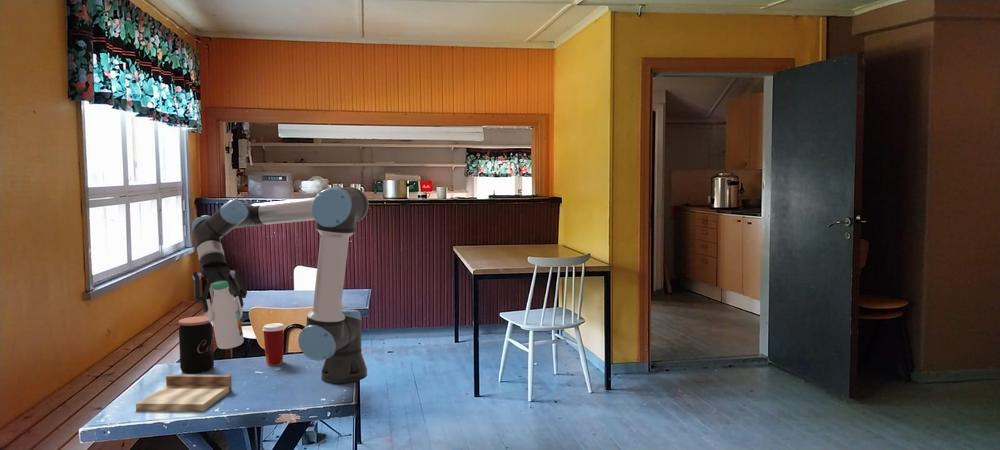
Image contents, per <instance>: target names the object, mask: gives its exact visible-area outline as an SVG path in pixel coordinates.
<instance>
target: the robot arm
mask: <svg viewBox="0 0 1000 450" xmlns="http://www.w3.org/2000/svg"><path fill="white" fill-rule="evenodd" d="M369 207H370V205H369V200H368V197H367V195H366V194H365V193H364V191H362V190H361V189H359V188H358V187H353V186H347V187H341V186H338V187H335V186H333V187H330V188H326V189H323V190H322V191H320V192H318V193H317V194H316V196H314V197H305V198H295V199H289V200H288V199H287V200H278V201H267V202H261V203H251V204H250V203H249V204H248V203H247V204H244V203H243V202H241V201H240V200H239V201H238V200H237V199H230V200H229V201H228V202H226V203H223V205H221V206H220V208H219V209H218V210H216V211H215V212H214V213H212V215H211V216H210V215H201V216H200V217H196V218H195V219H194V220H193V221H192V225H191V226H192V227H191V228H192V236H193V239H194V242H195V246H196V251H197V254H198V260H199V264H200V269H201V272H196V271H194V272H193V273H192V277H191V279H192V281H193V290H194V291H193V292H194V293H193V301H194V303H200V305H201V308H202V311H203V312H204V313H205V312H206V314H207V317H208V319H209V322H211V323H213V321H212V320H213V313H212V308H211V306H212V303H211V299H210V298H208V295H209V293H210V289H211V287H212V284H213V283H214V282H217V281H228V284H229V292H230V294H231V296H232V297H233V298H234V300H235V301H236V303H237V306H238V310H239V316H240V320H242V318H243V314H244V311H243V307H244V304H245V303H244V300H243V299H246V298H247V294H248V291H247V288H246V285H245V284H244V281H243V280H242V278H241V275H240V269H238V268H236V269H234V270H232V269H230V268H229V267H228V265H227V260H226V256H225V251H224V248H223V244H222V241H221V240H222V239H223V238H224V236H226V235H228V234H229V233H230V232H231V231H232V230H235V229H240V228H245V227H248V228H249V227H256V226H257V227H259V226H266V225H276V224H285V223H286V224H287V223H297V222H298V223H299V222H308V221H309V222H310V221H315V222H316V226H315V227H316V228H315V230H316V231H317V232H318V233H319V235H320V239H319V248H318V258H317V267H316V275H315V277H316V278H315V287H314V295H313V304H312V305H313V306H312V310H310V311H309V312H308V313H307V315H306V322H305V325H306V326H305V327H303V328H302V329H301V331H300V332H299V335H298V338H297V340H298V343H297V344H298V347H299V349H300V351H301V352H302V353H303V354H304V356H305V357H307V358H308V359H310V360H313V361H318V362H320V361H324V362H323V365H322V369H321V373H320V375H321V376H320V377H321V380H322V381H323V382H326V383H329V384H330V383H331V384H349V383H354V382H358V381H361V380H363V379H365V378H366V377H367V376H368V368H367V365H366V361H365V359H364V356H363V352H362V314H361V312H360V311H359V310H357V309H352V308H351V309H350V308H349V309H348V308H342V304H343V303H342V302H343V295H344V294H343V293H344V285H345V275H346V266H347V256H348V250H349V240H350V237H351V236H352V235H354V234H355V231H356V223H357V222H360V221H361V220H363V219H364V218H365V217H366V216H367V214H368V211H369V209H370V208H369ZM229 276H231V277H232V279H233V280H234V281H233V282H234V283H233V282H232V280H230V277H229ZM202 278H203V279H204V280H205V281H206V285H205V287H204V289H203V290H204V291H203V294H202V296H201V295H200V293H201V290H200V288H201V287H200V285H201V284H200V282H201V279H202ZM207 298H208V299H207Z"/></svg>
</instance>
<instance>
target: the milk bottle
mask: <svg viewBox="0 0 1000 450" xmlns="http://www.w3.org/2000/svg"><path fill="white" fill-rule="evenodd" d="M211 288H212V292H213V299H212V303H211V308H212V313H213V320H212V326H213V333H214V337H215V341H216V342H215V343H216V347H217V348H218V349H221V350H229V349H232V348H237V347H239V346H241V345H242V344H244V341H245V339H244V333H243V327H242V321H241V320H242V319H240V316H239V310H238V306H237V303H236V301H235V297H234V296H233V295H232V293H231V292H230V291H229V284H228V281H217V282H214V283H213V284H212V283H211Z"/></svg>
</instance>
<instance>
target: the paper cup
mask: <svg viewBox="0 0 1000 450" xmlns="http://www.w3.org/2000/svg"><path fill="white" fill-rule="evenodd" d="M285 328H286V327H285V326H284V324H283V323H279V322H277V323H275V322H274V323H267V324H264V326H263V327H262V331H263V341H264V342H263V343H264V350H265V351H264V352H265V362H266V365H267V364H268V366H277V364H279V365H281V364H280V363H282V362H284V343H285V341H284V338H285V335H284V334H285ZM282 364H283V363H282Z"/></svg>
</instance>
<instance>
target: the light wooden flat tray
mask: <svg viewBox="0 0 1000 450" xmlns="http://www.w3.org/2000/svg"><path fill="white" fill-rule="evenodd" d="M165 381H166V382H165V384H166V385H165V386H163V387H161V388H160V389H158V390H156V391H154V392H153V393H151V394H149V395H148V396H146V397H145V398H143V399H141V400H139V401H138V402H136V403H135V410H136V411H159V412H160V411H165V412H166V411H171V412H172V411H174V412H177V411H178V412H180V411H181V412H204V411H206V410H207V409H208V408H210V407H211V406H213V405H214V404H215V403H216V402H218V401H220V399H222V398H224V397H225V396H226V395H227V394H229V393H230V392H232V390H233V389H232V388H233V387H232V374H180V373H179V374H176V373H175V374H173V373H172V374H167V375H166V376H165Z"/></svg>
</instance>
